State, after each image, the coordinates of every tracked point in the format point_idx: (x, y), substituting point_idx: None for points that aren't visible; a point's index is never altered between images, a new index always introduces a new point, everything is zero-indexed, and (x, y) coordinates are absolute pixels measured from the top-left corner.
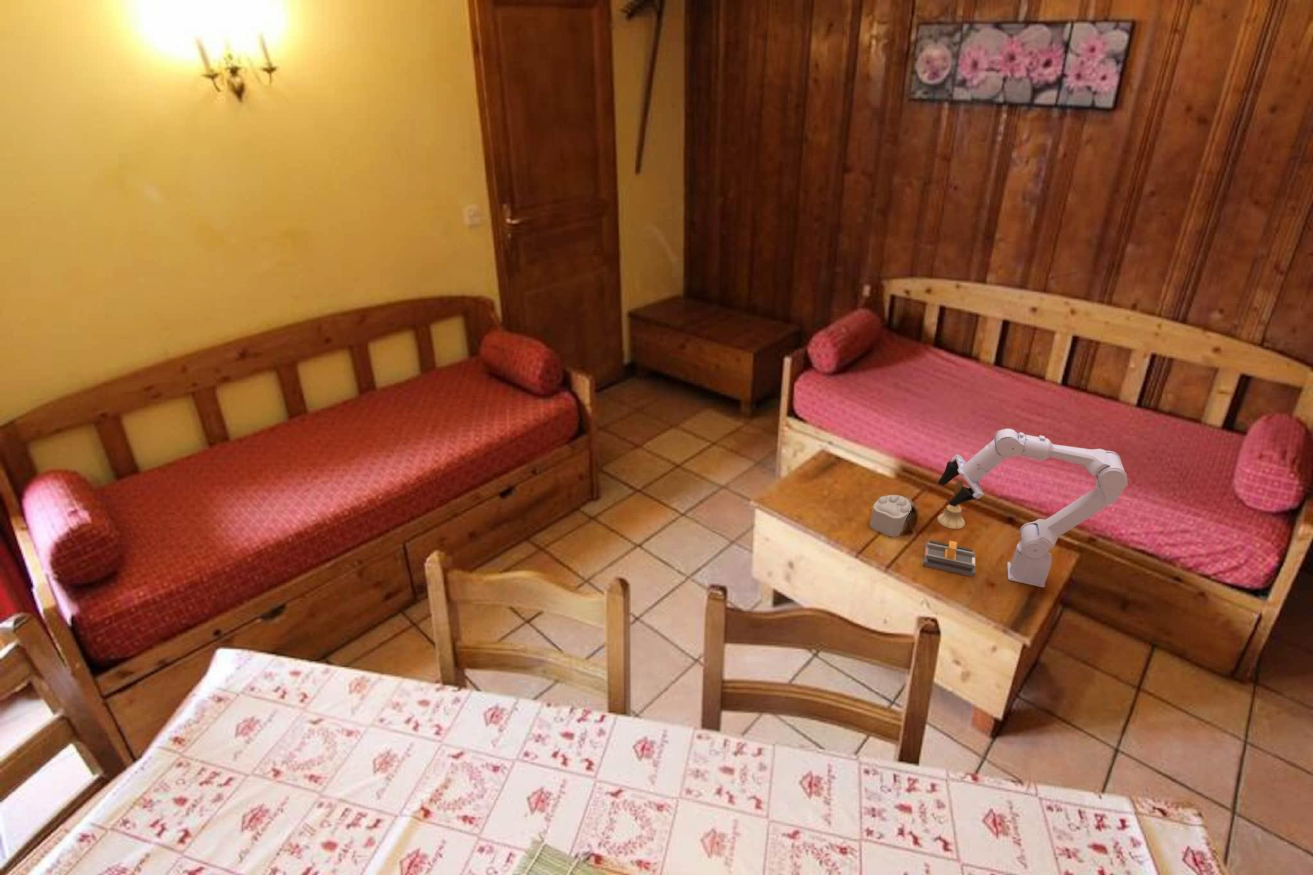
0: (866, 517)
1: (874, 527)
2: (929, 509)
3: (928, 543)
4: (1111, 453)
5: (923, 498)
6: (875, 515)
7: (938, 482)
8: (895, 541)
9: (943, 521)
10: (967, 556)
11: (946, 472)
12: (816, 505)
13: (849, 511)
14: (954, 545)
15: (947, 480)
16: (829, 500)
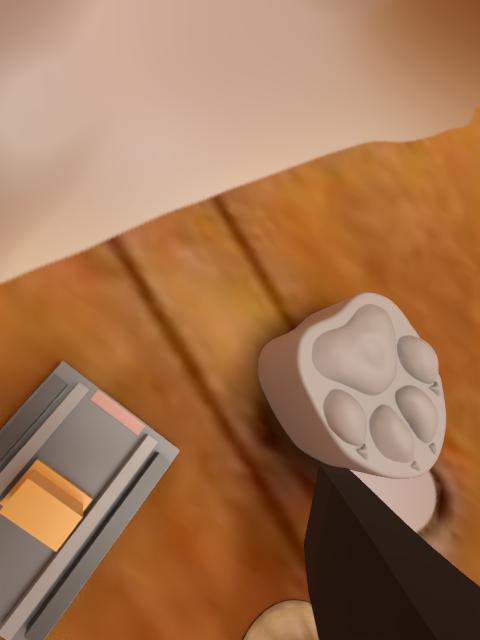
0: None
1: (315, 312)
2: None
3: (151, 439)
4: None
5: None
6: (348, 298)
7: (340, 470)
8: (232, 348)
9: (287, 618)
10: (18, 592)
11: (452, 617)
12: (450, 218)
13: (411, 295)
14: (34, 521)
15: (330, 612)
16: (467, 270)
